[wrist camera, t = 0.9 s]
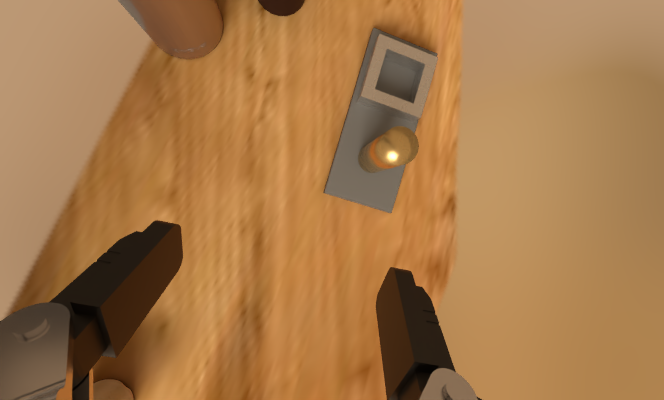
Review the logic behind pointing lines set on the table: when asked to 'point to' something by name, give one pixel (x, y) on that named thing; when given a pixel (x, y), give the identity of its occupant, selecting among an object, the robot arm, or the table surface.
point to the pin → (389, 150)
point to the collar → (407, 59)
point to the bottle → (281, 6)
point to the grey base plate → (371, 137)
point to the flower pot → (111, 390)
